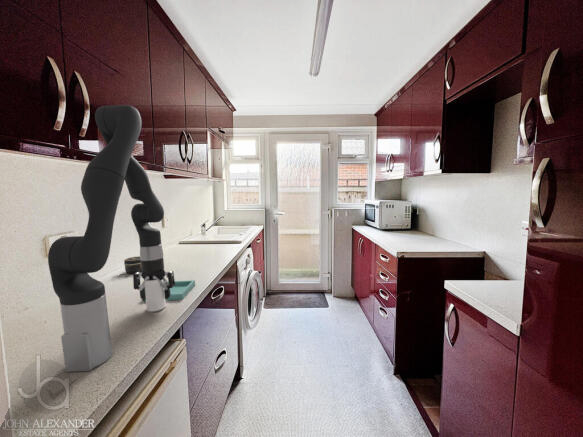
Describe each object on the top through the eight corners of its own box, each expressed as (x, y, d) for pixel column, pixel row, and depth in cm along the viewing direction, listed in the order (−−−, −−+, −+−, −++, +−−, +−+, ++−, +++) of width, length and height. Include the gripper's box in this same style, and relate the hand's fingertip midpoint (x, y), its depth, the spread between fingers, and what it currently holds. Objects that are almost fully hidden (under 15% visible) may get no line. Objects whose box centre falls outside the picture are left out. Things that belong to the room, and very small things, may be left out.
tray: (182, 299, 107) (181, 294, 107) (142, 301, 106) (141, 295, 106) (195, 285, 123) (194, 280, 123) (160, 286, 122) (160, 281, 122)
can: (158, 312, 96) (155, 281, 95) (142, 311, 97) (139, 280, 96) (169, 305, 102) (167, 275, 101) (155, 304, 104) (152, 274, 102)
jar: (134, 275, 140) (132, 261, 139) (120, 273, 144) (119, 260, 143) (150, 269, 149) (148, 256, 148) (137, 268, 153) (136, 255, 152)
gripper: (126, 260, 94) (131, 304, 95) (167, 259, 94) (170, 302, 96) (138, 255, 101) (142, 295, 103) (175, 253, 101) (178, 294, 103)
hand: (155, 298), depth 99 cm, fingers open, 8 cm apart
